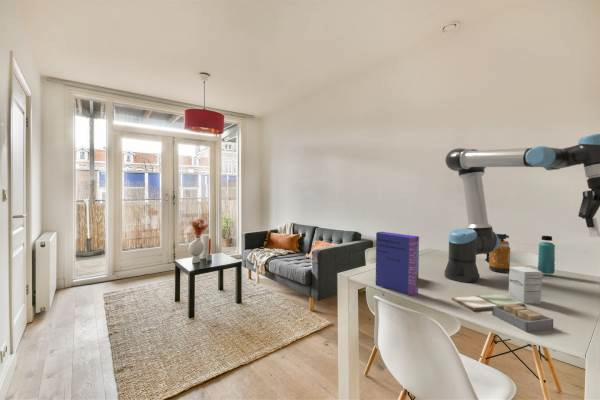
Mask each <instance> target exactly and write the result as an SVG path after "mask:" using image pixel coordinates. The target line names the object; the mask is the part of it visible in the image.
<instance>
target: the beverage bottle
mask: <svg viewBox="0 0 600 400" xmlns="http://www.w3.org/2000/svg"><path fill="white" fill-rule="evenodd" d="M541 240H543V241H541V242H539V243H538V258H537V262H538V263H537V270H538V271H541V272H542V274H545V275H546V274H547V275H554V274H555V270H556V269H555V268H556V265H555V263H556V261H555V260H556V258H555V257H556V253H555V252H556V251H555V249H556V244H554V243H553V242H552V241H553V236H552V235H541ZM549 241H550V242H549Z"/></svg>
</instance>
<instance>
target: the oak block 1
mask: <svg viewBox="0 0 600 400" xmlns="http://www.w3.org/2000/svg"><path fill="white" fill-rule="evenodd" d="M525 308H526V307H525ZM525 308H523V307H521V306H518V305H516V304H504V311H505V312H507V313H509V314H512V315H514V316H516V317H518V311H519V310H525Z"/></svg>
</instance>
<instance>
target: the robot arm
mask: <svg viewBox="0 0 600 400" xmlns="http://www.w3.org/2000/svg"><path fill="white" fill-rule="evenodd" d="M582 164H583V169H584V174H585V178H587V180H586V184H587V187H588V190H586V191H582V200H581V204H580V207H579V210H578V217H579V218H581V219H583V220H585V223H586V227H587V228H588V233H589V237H590V238H591V237H593V238H596V237H597V238H598V237H599V238H600V227H599V224H598V223H599V222H598V220H597V217H595V216H596V214H597V212H598V211H599V208H600V133H594V134H590V135H586V136H583V137H580V138H579V139H578V144H575V145H573V146H570V147H564V148H557V147H548V146H543V145H542V146H535V147H525V148H523V147H522V148H521V147H520V148H505V149H500V148H499V149H485V150H480V149H475V148H472V149H471V148H459V147H458V148H453V149H451V150H450V151H449V152H448V153H447V154H446V156H445V165H446V166H447V168H448V169H449V170H451V171H453V172H458V177H459V178H460V179H462V184H463V192H464V199H465V207H466V215H467V223H468V225H466V227H465V228H456V229H453V230H450V232H449V235H448V261H447V263H446V266H445V269H444V274H443V276H444V277H445V278H447V279H449V280H452V281H456V282H461V283H477V282H479V281H481V280H480V273H479V270H478V267H477V263H476V262H477V255H487V254H488V253H489V254H490V252H493V251H495V250H496V249H497V247H498V245H499V238H498V236H497V234H498V233H496V232H495V231H494V229H493V225H491V224H489V221H488V214H487V207H486V206H487V205H486V199H485V193H484V192H485V189H484V184H483V176H484V175H485V169H486V168H543V169H545V170H546V171H554V170H560V169H564V168H570V167H574V166H579V165H582ZM589 189H590V190H589Z"/></svg>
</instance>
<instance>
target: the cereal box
mask: <svg viewBox="0 0 600 400" xmlns="http://www.w3.org/2000/svg"><path fill="white" fill-rule="evenodd" d="M375 234H376V235H375V238H376V239H375V286H378V287H380V286H381V287H380V288H384V289H387V290H391V291H395V292H397V293H398V292H399V293H401V294H405V295H409V296H411V297H414V296H415V295H417V294H419V267H420V266H419V262H420V261H419V260H420V256H419V255H420V236H419V235H410V234H403V233H401V234H400V233H397V232H396V233H395V232H388V231H387V232H385V231H377V232H376V233H375Z"/></svg>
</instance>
